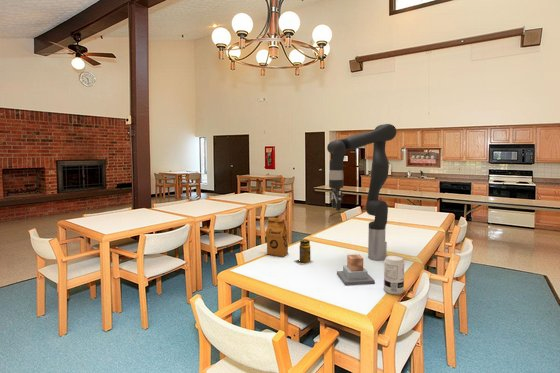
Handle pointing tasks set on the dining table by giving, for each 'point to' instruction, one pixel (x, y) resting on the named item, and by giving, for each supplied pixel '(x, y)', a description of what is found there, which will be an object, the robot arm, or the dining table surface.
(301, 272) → the dining table surface
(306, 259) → the condiment
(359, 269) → the cube
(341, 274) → the base
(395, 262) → the supplement can
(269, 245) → the coffee package
